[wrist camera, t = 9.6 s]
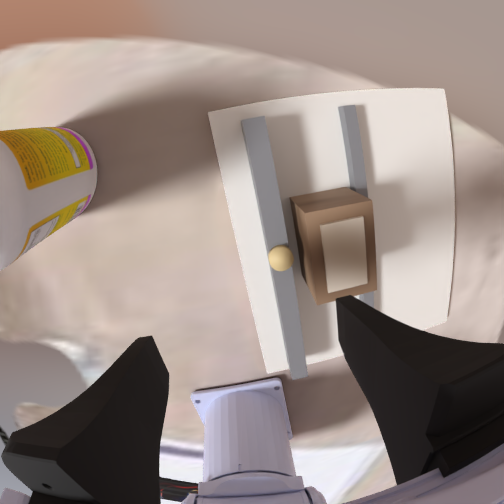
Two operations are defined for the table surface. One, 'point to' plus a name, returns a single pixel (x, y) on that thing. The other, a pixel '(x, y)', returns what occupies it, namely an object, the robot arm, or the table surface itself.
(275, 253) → the wall board
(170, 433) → the table surface
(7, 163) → the supplement bottle
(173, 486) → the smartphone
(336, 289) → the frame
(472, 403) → the robot arm
